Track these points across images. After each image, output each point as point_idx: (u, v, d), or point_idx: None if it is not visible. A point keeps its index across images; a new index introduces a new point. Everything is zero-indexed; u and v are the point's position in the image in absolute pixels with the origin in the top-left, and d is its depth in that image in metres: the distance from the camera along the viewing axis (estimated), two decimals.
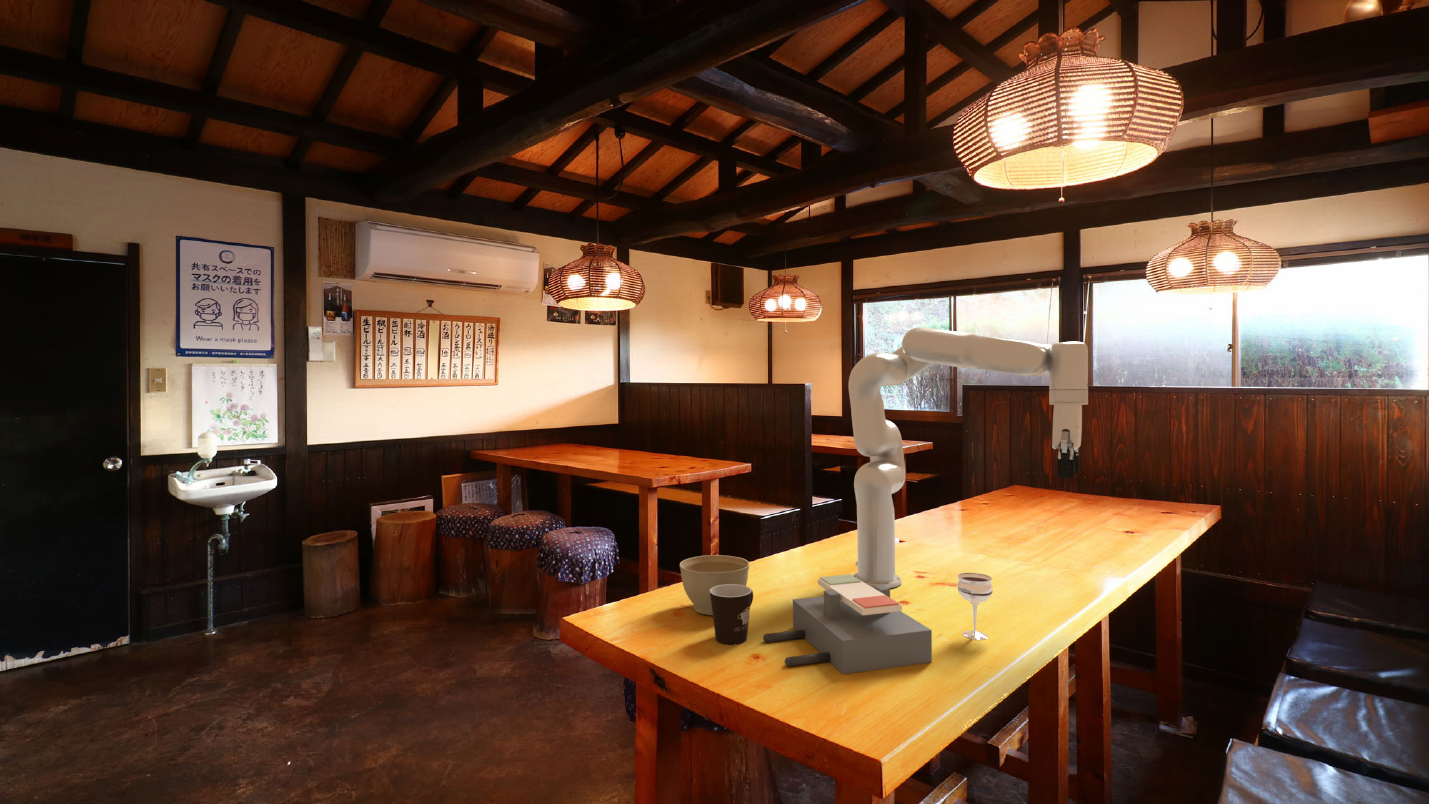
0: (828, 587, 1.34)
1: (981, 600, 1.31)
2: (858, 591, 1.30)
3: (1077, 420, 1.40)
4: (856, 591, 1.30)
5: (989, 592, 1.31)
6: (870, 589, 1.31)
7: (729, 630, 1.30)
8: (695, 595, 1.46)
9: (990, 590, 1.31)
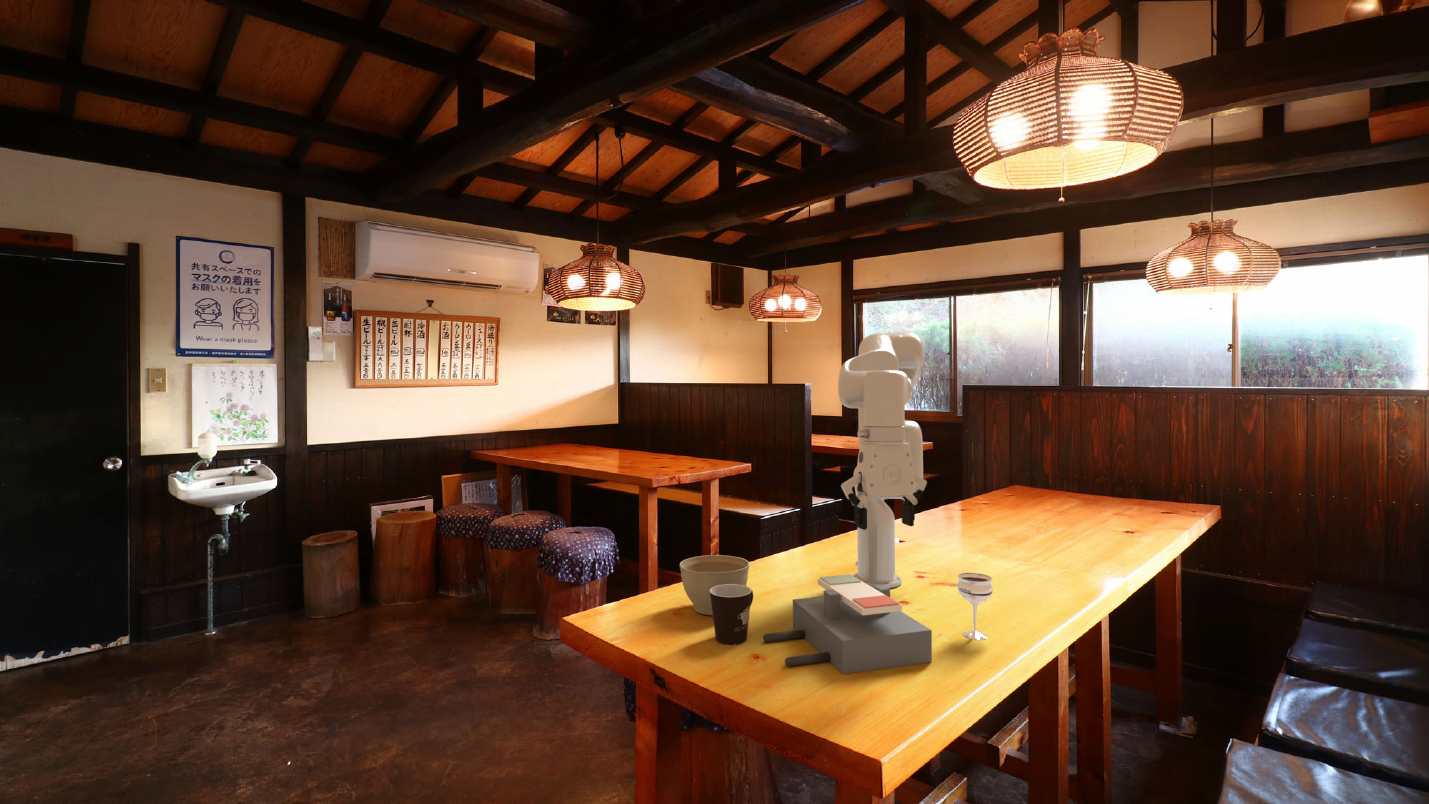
0: (828, 587, 1.34)
1: (981, 600, 1.31)
2: (858, 591, 1.30)
3: None
4: (856, 591, 1.30)
5: (989, 592, 1.31)
6: (870, 589, 1.31)
7: (729, 630, 1.30)
8: (695, 595, 1.46)
9: (990, 590, 1.31)
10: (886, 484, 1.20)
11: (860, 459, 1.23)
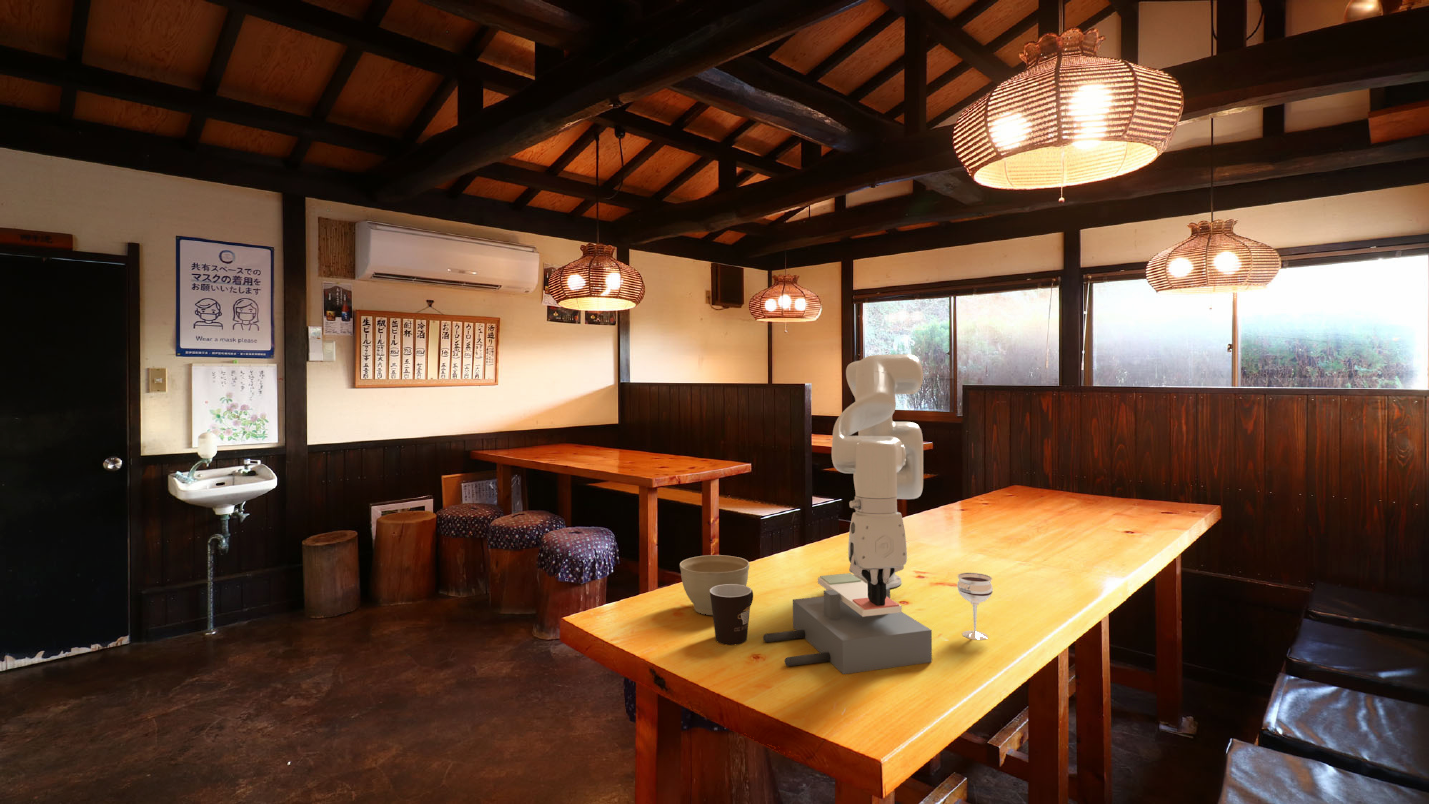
0: (828, 586, 1.34)
1: (981, 600, 1.31)
2: (858, 591, 1.30)
3: None
4: (856, 591, 1.30)
5: (989, 592, 1.31)
6: None
7: (729, 630, 1.30)
8: (695, 595, 1.46)
9: (990, 590, 1.31)
10: (878, 556, 1.19)
11: (852, 529, 1.22)
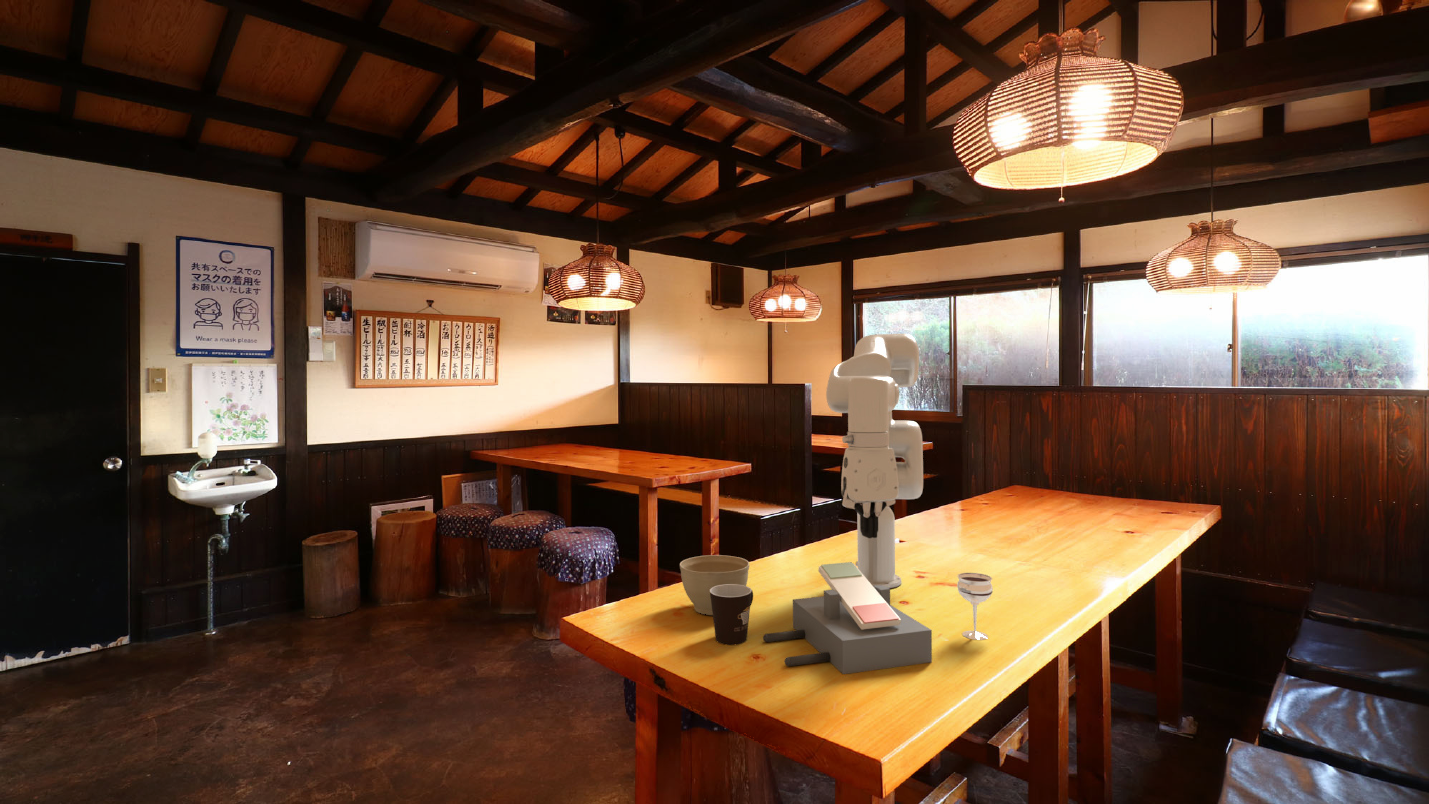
0: (828, 581, 1.34)
1: (981, 600, 1.31)
2: (859, 591, 1.30)
3: None
4: (856, 592, 1.30)
5: (989, 592, 1.31)
6: (870, 589, 1.31)
7: (729, 630, 1.30)
8: (695, 595, 1.46)
9: (990, 590, 1.31)
10: (870, 489, 1.22)
11: (845, 464, 1.24)
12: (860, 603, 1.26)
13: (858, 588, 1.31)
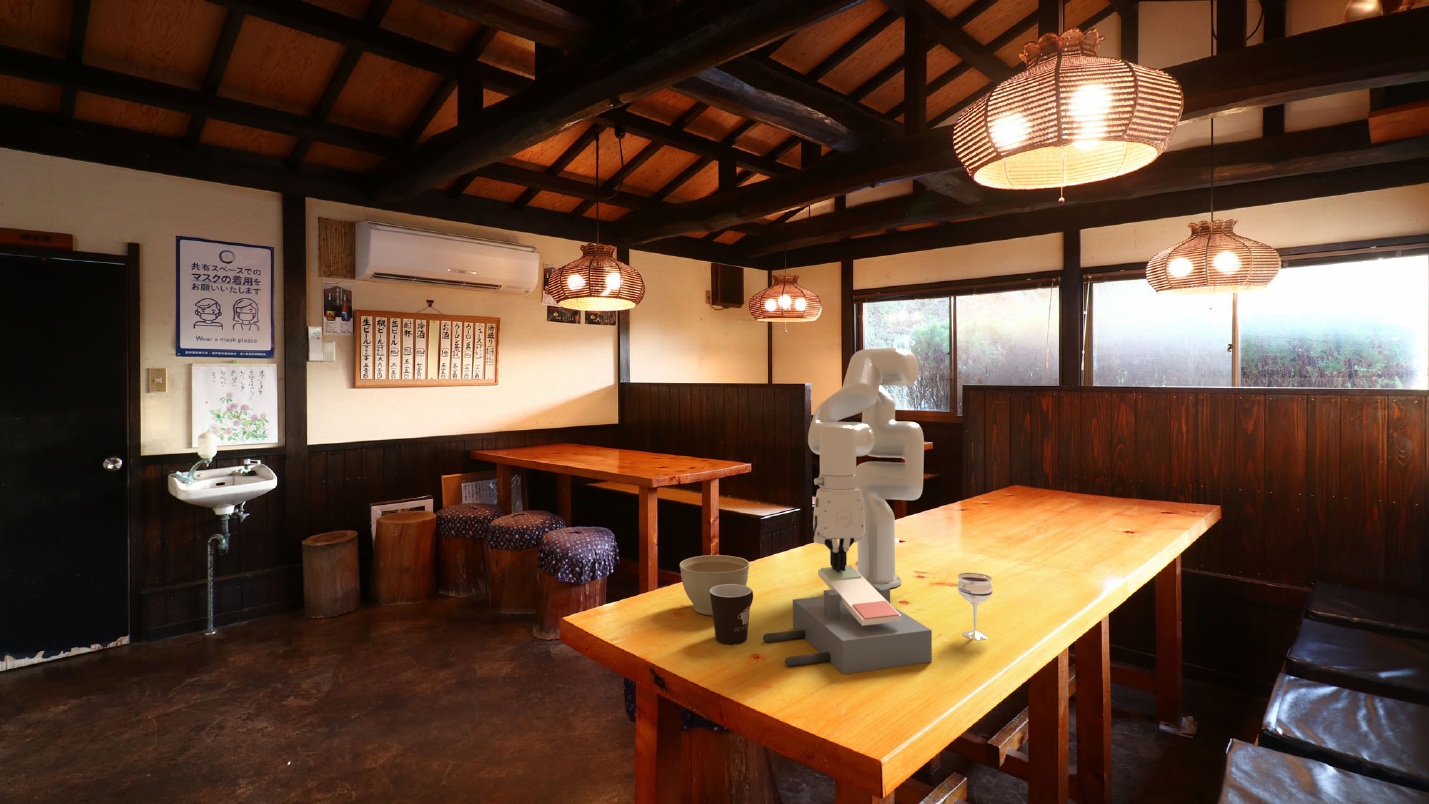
0: (828, 583, 1.34)
1: (981, 600, 1.31)
2: (859, 591, 1.30)
3: None
4: (856, 592, 1.30)
5: (989, 592, 1.31)
6: (870, 589, 1.31)
7: (729, 630, 1.30)
8: (695, 595, 1.46)
9: (990, 590, 1.31)
10: (838, 527, 1.35)
11: (816, 503, 1.37)
12: (860, 601, 1.26)
13: (858, 588, 1.31)
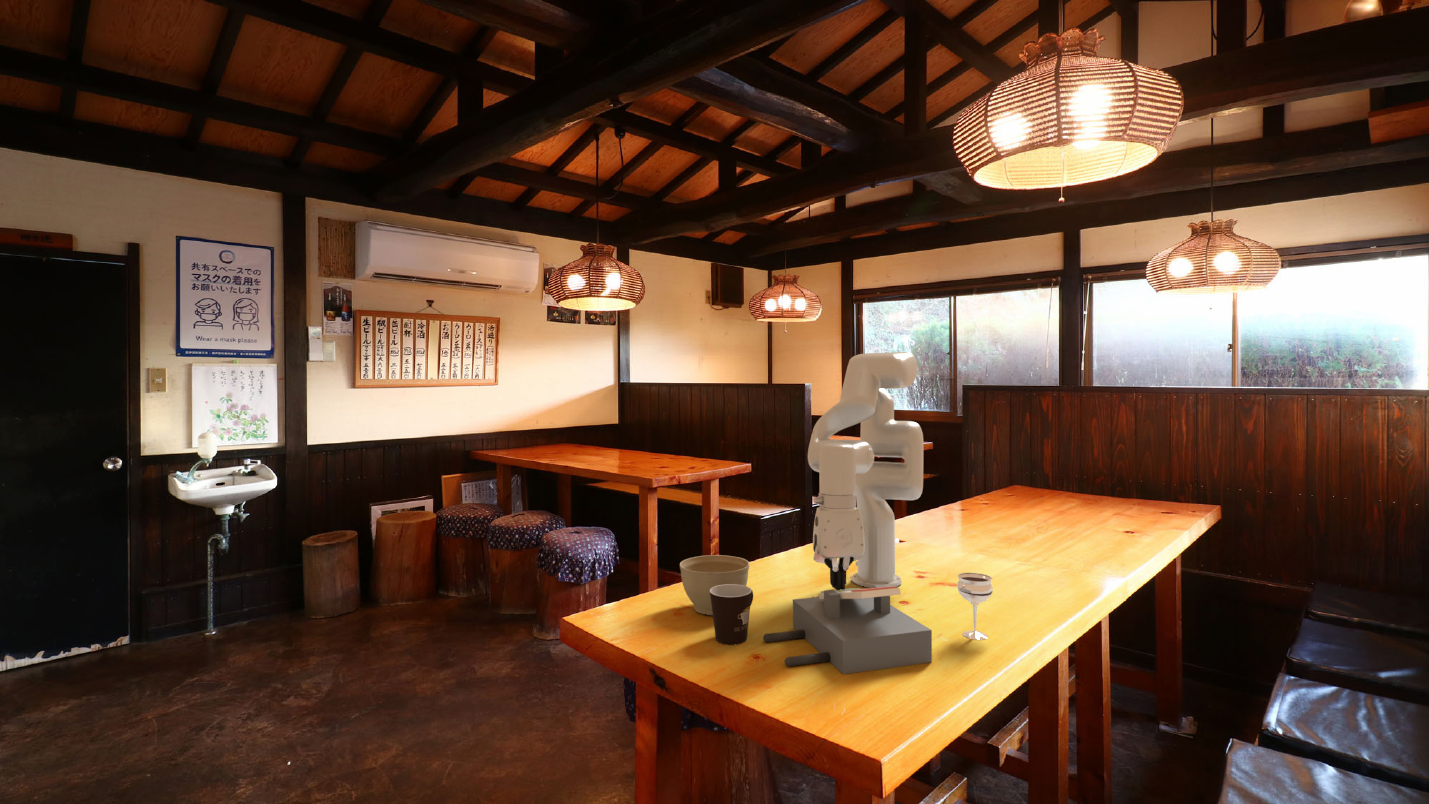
0: None
1: (981, 600, 1.31)
2: None
3: None
4: None
5: (989, 592, 1.31)
6: None
7: (729, 630, 1.30)
8: (695, 595, 1.46)
9: (990, 590, 1.31)
10: (838, 546, 1.35)
11: (816, 522, 1.38)
12: None
13: None
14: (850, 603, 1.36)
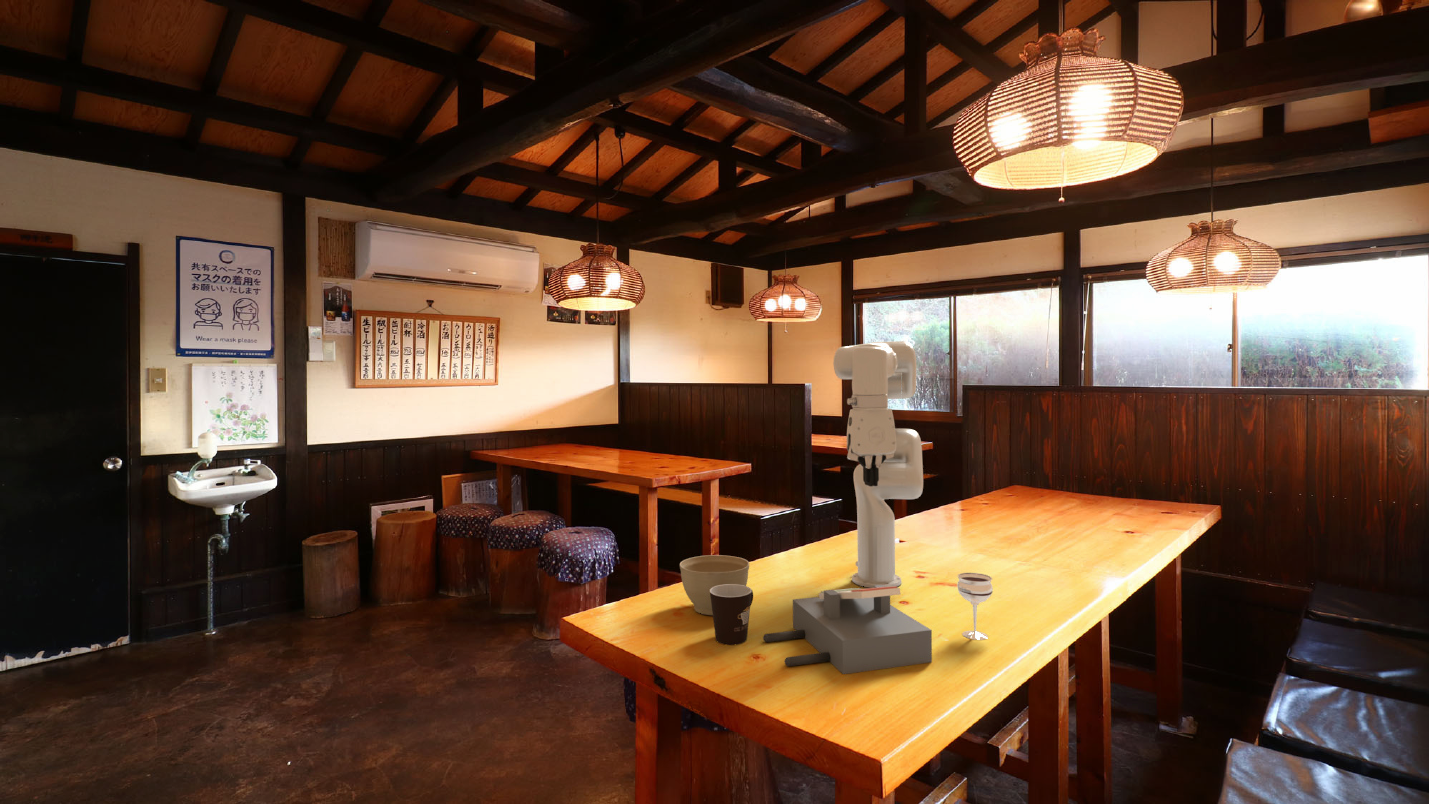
0: None
1: (981, 600, 1.31)
2: None
3: None
4: None
5: (989, 592, 1.31)
6: None
7: (729, 630, 1.30)
8: (695, 595, 1.46)
9: (990, 590, 1.31)
10: (871, 444, 1.41)
11: (849, 423, 1.44)
12: None
13: None
14: (850, 603, 1.36)
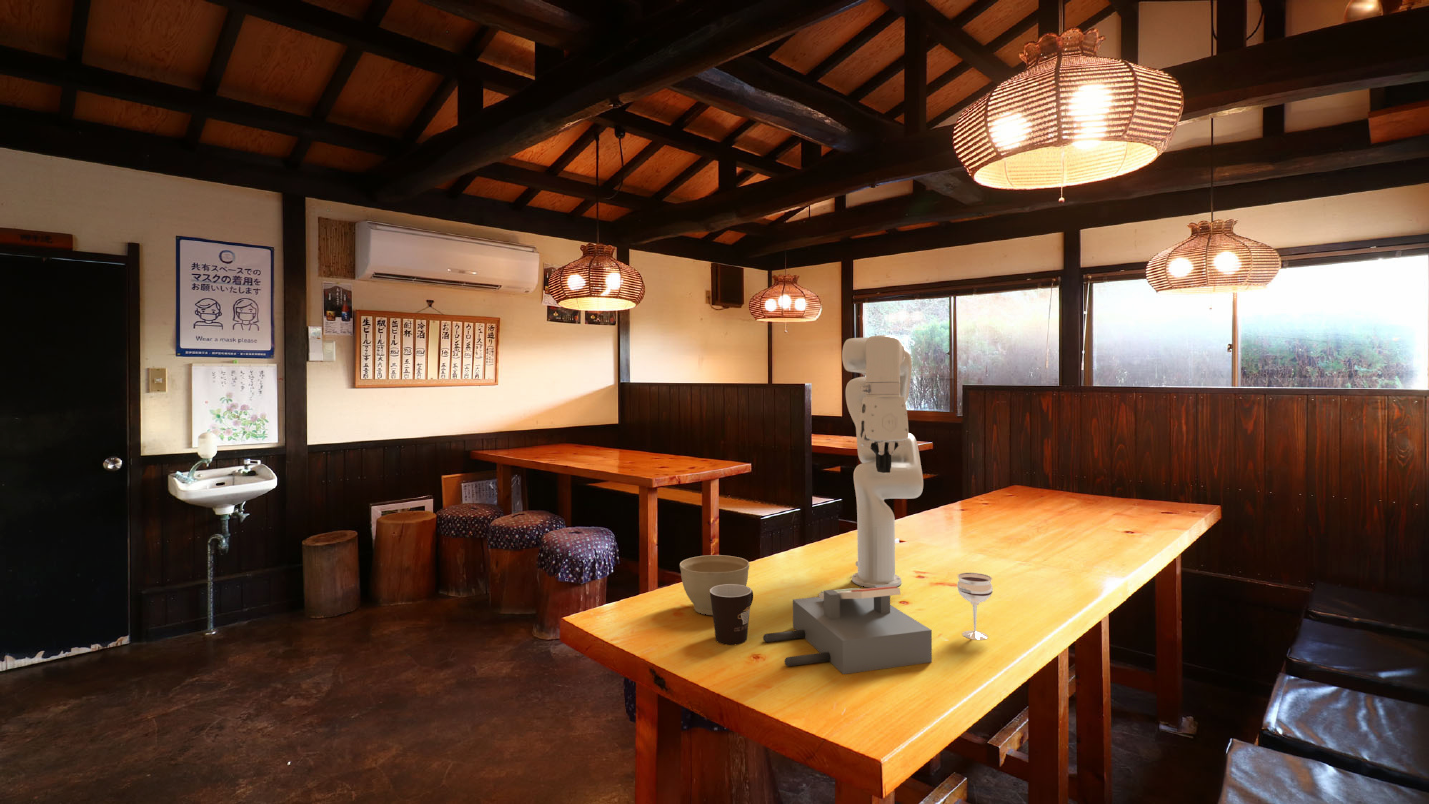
0: None
1: (981, 600, 1.31)
2: None
3: None
4: None
5: (989, 592, 1.31)
6: None
7: (729, 630, 1.30)
8: (695, 595, 1.46)
9: (990, 590, 1.31)
10: (884, 430, 1.44)
11: (863, 410, 1.47)
12: None
13: None
14: (850, 603, 1.36)
